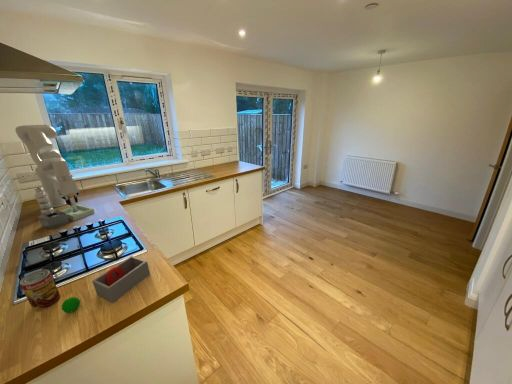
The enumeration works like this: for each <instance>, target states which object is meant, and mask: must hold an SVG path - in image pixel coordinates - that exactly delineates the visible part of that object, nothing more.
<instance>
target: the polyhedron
mask: <svg viewBox="0 0 512 384" xmlns="http://www.w3.org/2000/svg"><path fill="white" fill-rule="evenodd" d="M80 302H81V300H80V299H79V298H78V297H76V296H71V297H69V298H66V299H65V300H64V301H63V302H62V304H61V310H62V311H63V312H64V313H66V314H70V313H72V312H74V311H77V310H78V309H79V307H80V304H81V303H80Z"/></svg>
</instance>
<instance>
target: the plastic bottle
mask: <svg viewBox="0 0 512 384" xmlns="http://www.w3.org/2000/svg"><path fill="white" fill-rule="evenodd" d="M34 190H35V194H34V198H35V200H36V202H37V203H38V205H39V208H40V213H41V216H42V215H45V214H48V213H51V212H54V211H55V209H54V207H53V208H52V206H51V204H50V202H49V198H48V194H47V193H46V192H45V191H44V188H43V186H42V187H36V188H34Z"/></svg>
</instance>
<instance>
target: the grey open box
mask: <svg viewBox="0 0 512 384" xmlns="http://www.w3.org/2000/svg"><path fill="white" fill-rule="evenodd" d="M116 266H118V267H121V268H122V269H123V270H124V274H125V276H123V277H122V278H120V279H119V280H118V281H116V282H115V283H113V284H112V285H111V286H107V284H106V281H105V276H106V274H107V272H108V271H109V270H110V269H109V270H107V271H106V272H104V273H103V274H100V276H98V277H96V278H94V279H93V280H91V281H92V284H93V288H94V290H95V292H96V295H97V296H98V297H99V298H102V299H104V300H105V301H108V302H110V303H112V304H114V303H116V301H118V300H119V299H121V298H122V297H123V296H125V295H126V294H127V293H128V292H129V291H131V290H132V289H134V288H135V287H136V286H137V285H139V284H140V283H141V282H142V281H143V280H145V279H146V278H147V277H149V276H150V275H151V273H150V268H149V264H148V260H146V259H142V258H138V257H136V256H133V255H130V256H129V257H128V258H126V259H124V260H123V261H121V262H119V263H118V264H116V265H115V266H114V267H116ZM127 273H128V274H127ZM116 276H117V272H115V273H114V274H113V275H112V278H115V277H116Z"/></svg>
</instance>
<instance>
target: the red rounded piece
mask: <svg viewBox="0 0 512 384" xmlns="http://www.w3.org/2000/svg"><path fill="white" fill-rule="evenodd" d="M115 266H116V265H115ZM115 266H113V267H111V268H110V269H109V271H108V270H107V271H108V272H107V271H106V272H107V274H106V276H105V281H106V284H107V286H111V285H112V284H113V283H115V282H116V281H118V280H119V279H120V278H122V277H123V276H125V274H124V270H123V269H122V268H121V267H118V266H116V267H115ZM115 272H117V276H116V277H115V278H112V275H113V274H114V273H115ZM127 274H128V273H127Z"/></svg>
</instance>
